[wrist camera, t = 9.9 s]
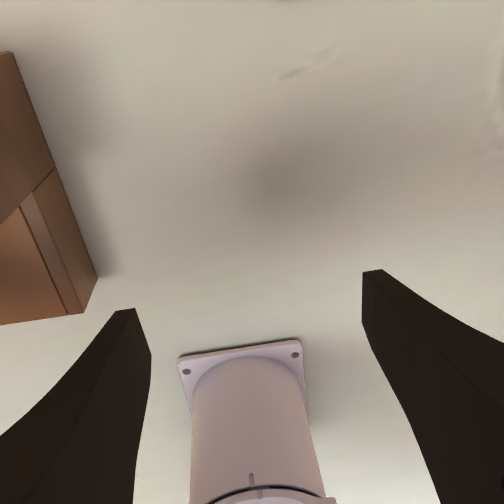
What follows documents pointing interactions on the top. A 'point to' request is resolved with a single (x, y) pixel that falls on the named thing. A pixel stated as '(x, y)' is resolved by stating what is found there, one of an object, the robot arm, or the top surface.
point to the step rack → (35, 218)
